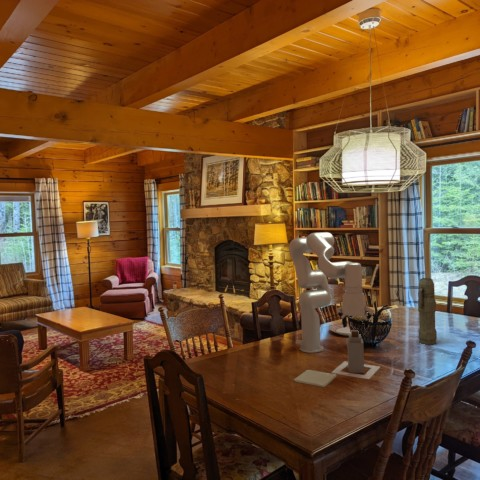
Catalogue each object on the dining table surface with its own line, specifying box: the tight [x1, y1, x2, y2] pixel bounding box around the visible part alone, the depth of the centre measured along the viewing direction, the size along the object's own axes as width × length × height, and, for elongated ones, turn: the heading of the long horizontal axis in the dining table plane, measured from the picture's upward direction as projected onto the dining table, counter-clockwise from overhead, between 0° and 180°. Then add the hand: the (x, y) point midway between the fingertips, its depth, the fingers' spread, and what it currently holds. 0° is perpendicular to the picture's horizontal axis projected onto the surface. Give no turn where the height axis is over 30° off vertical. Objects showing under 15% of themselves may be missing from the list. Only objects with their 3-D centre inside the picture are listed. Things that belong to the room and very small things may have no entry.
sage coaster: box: [293, 369, 338, 388], centre depth 190 cm, size 14×14×1 cm
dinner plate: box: [328, 322, 351, 337], centre depth 262 cm, size 28×27×3 cm
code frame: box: [331, 361, 381, 380], centre depth 198 cm, size 17×17×1 cm
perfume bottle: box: [346, 330, 365, 374], centre depth 198 cm, size 7×7×18 cm
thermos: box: [417, 277, 438, 346], centre depth 234 cm, size 9×12×35 cm
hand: (355, 327), depth 197 cm, fingers open, 9 cm apart
